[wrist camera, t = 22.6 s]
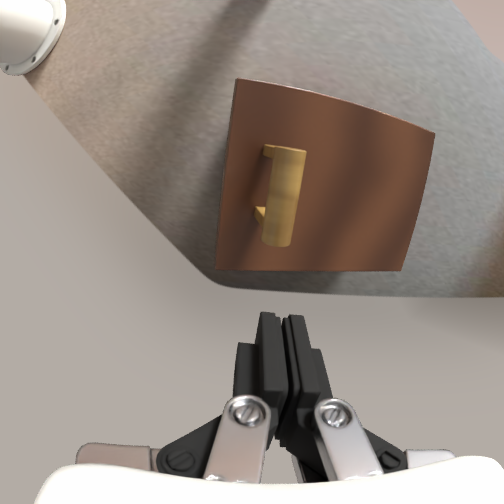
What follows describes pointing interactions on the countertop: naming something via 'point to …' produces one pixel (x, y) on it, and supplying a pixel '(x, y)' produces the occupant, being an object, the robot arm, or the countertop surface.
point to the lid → (317, 183)
